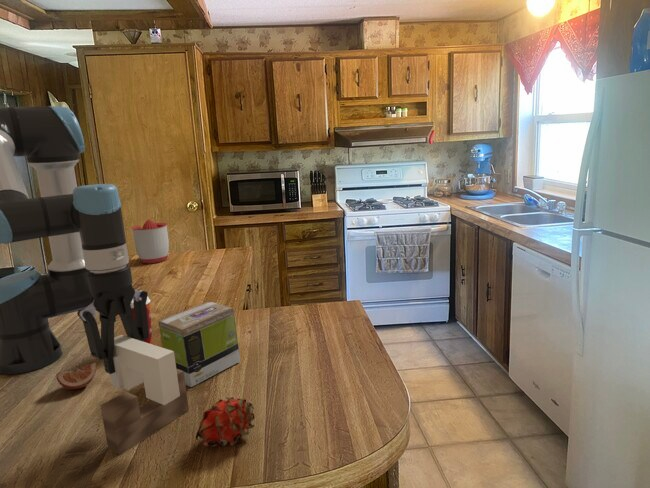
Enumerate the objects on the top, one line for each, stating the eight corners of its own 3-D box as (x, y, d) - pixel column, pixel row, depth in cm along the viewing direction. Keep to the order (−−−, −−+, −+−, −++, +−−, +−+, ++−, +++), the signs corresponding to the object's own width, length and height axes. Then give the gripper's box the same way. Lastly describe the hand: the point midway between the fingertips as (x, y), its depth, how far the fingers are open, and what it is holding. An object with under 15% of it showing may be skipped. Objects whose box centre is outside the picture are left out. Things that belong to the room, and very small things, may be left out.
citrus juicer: (163, 254, 235) (157, 214, 231) (176, 260, 222) (171, 218, 217) (131, 260, 226) (124, 219, 221) (143, 267, 213) (137, 223, 208)
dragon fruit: (262, 433, 91) (205, 469, 85) (240, 397, 95) (184, 429, 89) (268, 416, 85) (207, 453, 79) (244, 378, 89) (184, 410, 83)
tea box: (216, 352, 124) (209, 299, 120) (241, 362, 117) (235, 307, 114) (165, 376, 112) (157, 319, 109) (190, 389, 106) (182, 328, 103)
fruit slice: (96, 375, 115) (93, 357, 114) (102, 386, 109) (98, 367, 108) (58, 387, 110) (54, 368, 109) (62, 399, 105) (57, 379, 104)
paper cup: (162, 343, 131) (155, 295, 128) (139, 354, 125) (131, 305, 122) (144, 338, 135) (137, 292, 132) (120, 349, 129) (112, 301, 125)
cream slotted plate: (180, 395, 87) (173, 351, 85) (164, 405, 84) (157, 359, 82) (128, 375, 96) (121, 334, 94) (112, 383, 93) (105, 341, 91)
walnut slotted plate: (119, 455, 85) (111, 410, 83) (108, 449, 87) (100, 405, 85) (188, 410, 98) (183, 371, 96) (177, 405, 100) (172, 367, 98)
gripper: (75, 282, 79) (98, 407, 84) (158, 258, 92) (173, 367, 98) (52, 277, 83) (76, 396, 89) (135, 255, 97) (151, 359, 102)
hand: (127, 380), depth 93 cm, fingers closed on cream slotted plate, 3 cm apart
